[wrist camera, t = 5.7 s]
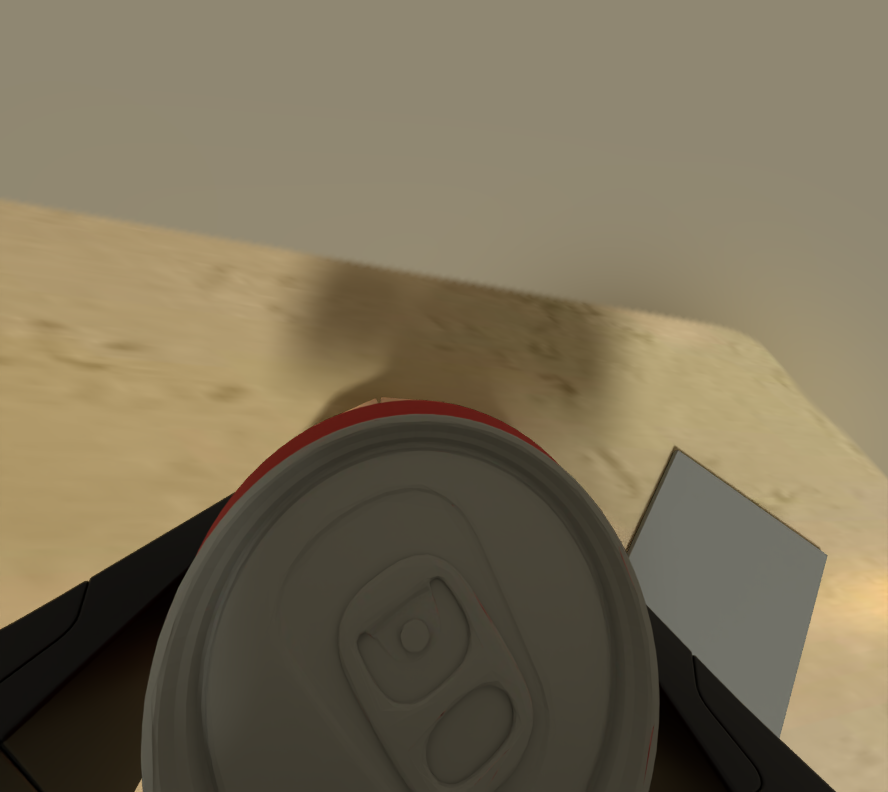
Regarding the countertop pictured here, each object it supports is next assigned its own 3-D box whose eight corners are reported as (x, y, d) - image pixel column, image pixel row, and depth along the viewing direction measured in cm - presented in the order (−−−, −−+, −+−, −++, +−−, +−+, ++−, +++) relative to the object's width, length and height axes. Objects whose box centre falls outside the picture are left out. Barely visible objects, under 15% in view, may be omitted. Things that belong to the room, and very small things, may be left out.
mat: (717, 939, 14) (724, 948, 14) (521, 780, 15) (524, 785, 15) (821, 554, 20) (827, 555, 20) (674, 450, 21) (678, 450, 20)
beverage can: (425, 436, 16) (491, 283, 5) (509, 563, 15) (835, 730, 4) (292, 520, 15) (-60, 572, 3) (375, 673, 13) (262, 1579, 2)
